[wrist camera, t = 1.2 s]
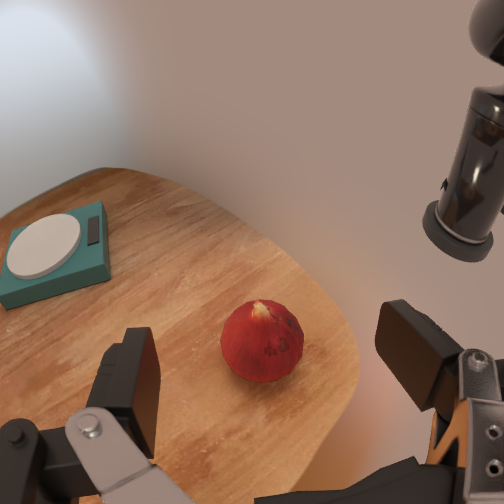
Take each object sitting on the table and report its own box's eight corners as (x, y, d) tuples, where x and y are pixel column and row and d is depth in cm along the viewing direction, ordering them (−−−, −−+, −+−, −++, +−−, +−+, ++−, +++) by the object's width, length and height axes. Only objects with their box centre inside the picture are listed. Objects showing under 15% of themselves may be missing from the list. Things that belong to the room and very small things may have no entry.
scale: (106, 215, 39) (100, 196, 37) (111, 279, 31) (101, 258, 29) (19, 243, 35) (10, 226, 33) (6, 310, 27) (-8, 292, 25)
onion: (300, 338, 26) (314, 276, 21) (293, 401, 22) (308, 354, 17) (233, 329, 27) (227, 266, 22) (218, 389, 23) (204, 339, 17)
